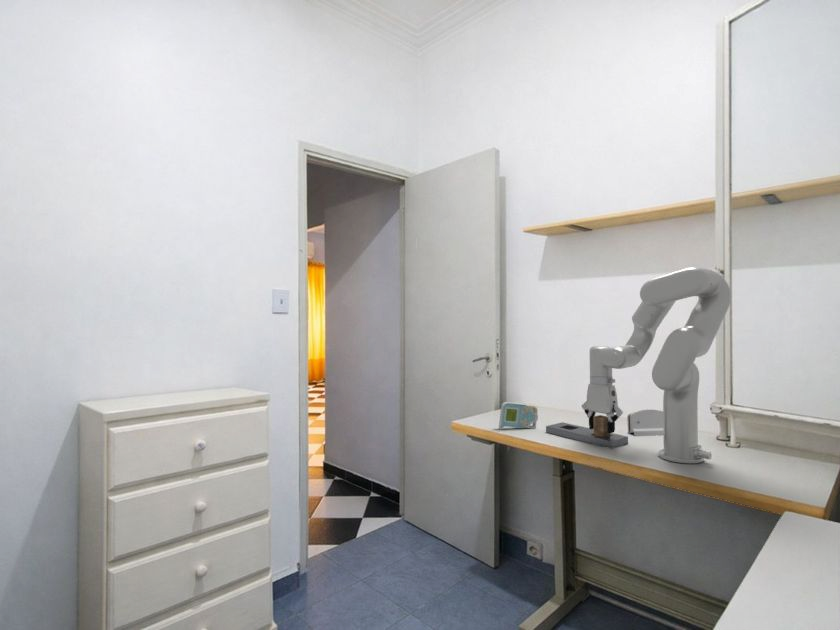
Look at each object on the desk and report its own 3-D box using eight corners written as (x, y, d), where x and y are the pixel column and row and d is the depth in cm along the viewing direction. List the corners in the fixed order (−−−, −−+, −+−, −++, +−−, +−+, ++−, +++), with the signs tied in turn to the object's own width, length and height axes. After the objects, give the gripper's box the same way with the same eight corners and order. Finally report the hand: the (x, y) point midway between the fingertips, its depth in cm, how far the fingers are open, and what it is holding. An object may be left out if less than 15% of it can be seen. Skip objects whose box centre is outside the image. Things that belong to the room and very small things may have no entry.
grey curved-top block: (634, 436, 175) (629, 409, 179) (628, 437, 180) (623, 411, 183) (677, 434, 176) (671, 408, 180) (670, 436, 181) (664, 409, 184)
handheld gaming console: (536, 433, 189) (500, 430, 187) (533, 432, 192) (498, 428, 190) (539, 406, 189) (503, 402, 188) (536, 404, 192) (501, 401, 190)
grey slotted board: (628, 443, 166) (627, 436, 166) (611, 448, 160) (611, 441, 160) (562, 428, 188) (562, 422, 188) (546, 432, 183) (545, 426, 183)
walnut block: (610, 442, 168) (610, 417, 168) (603, 444, 166) (603, 418, 166) (600, 439, 171) (600, 415, 171) (593, 441, 169) (593, 416, 169)
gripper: (629, 382, 163) (630, 433, 163) (586, 377, 178) (587, 424, 178) (617, 384, 159) (617, 437, 159) (574, 379, 173) (574, 427, 173)
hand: (601, 430), depth 168 cm, fingers open, 6 cm apart
